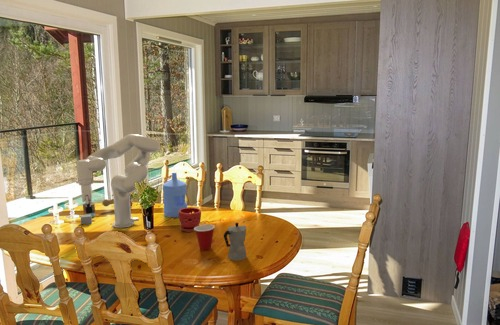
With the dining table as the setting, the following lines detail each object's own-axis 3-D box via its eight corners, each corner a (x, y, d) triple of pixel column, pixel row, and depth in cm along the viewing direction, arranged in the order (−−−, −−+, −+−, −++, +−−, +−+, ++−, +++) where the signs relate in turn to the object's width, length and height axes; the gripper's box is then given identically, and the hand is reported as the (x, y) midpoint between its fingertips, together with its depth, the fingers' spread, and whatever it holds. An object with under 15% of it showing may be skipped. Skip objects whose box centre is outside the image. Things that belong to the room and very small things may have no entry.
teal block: (94, 214, 278) (94, 207, 277) (94, 217, 272) (94, 209, 271) (87, 215, 276) (87, 208, 276) (87, 217, 271) (86, 210, 270)
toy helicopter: (134, 206, 294) (132, 188, 292) (106, 213, 280) (104, 193, 278) (128, 204, 300) (127, 186, 298) (100, 210, 286) (99, 191, 284)
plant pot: (197, 233, 240) (196, 214, 237) (176, 232, 242) (175, 212, 240) (204, 226, 252) (203, 207, 250) (184, 225, 255) (183, 206, 253)
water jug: (159, 216, 272) (157, 175, 266) (170, 209, 286) (169, 170, 281) (181, 218, 267) (179, 176, 262) (191, 211, 282) (190, 171, 277)
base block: (91, 221, 263) (91, 214, 262) (91, 224, 259) (90, 216, 258) (81, 222, 261) (81, 215, 260) (81, 225, 257) (80, 217, 256)
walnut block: (95, 210, 241) (94, 202, 240) (95, 212, 237) (93, 204, 236) (84, 211, 240) (83, 203, 238) (83, 214, 235) (82, 205, 234)
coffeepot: (239, 250, 214) (239, 217, 211) (253, 255, 208) (252, 221, 205) (218, 260, 203) (217, 225, 200) (231, 265, 197) (230, 229, 194)
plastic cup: (205, 243, 225) (204, 222, 223) (219, 247, 219) (219, 226, 216) (190, 249, 217) (189, 227, 215) (204, 254, 210) (204, 231, 208)
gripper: (79, 178, 241) (83, 208, 245) (77, 185, 225) (81, 217, 229) (93, 177, 243) (97, 206, 247) (92, 184, 228) (96, 215, 232)
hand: (89, 211), depth 238 cm, fingers closed on walnut block, 4 cm apart
